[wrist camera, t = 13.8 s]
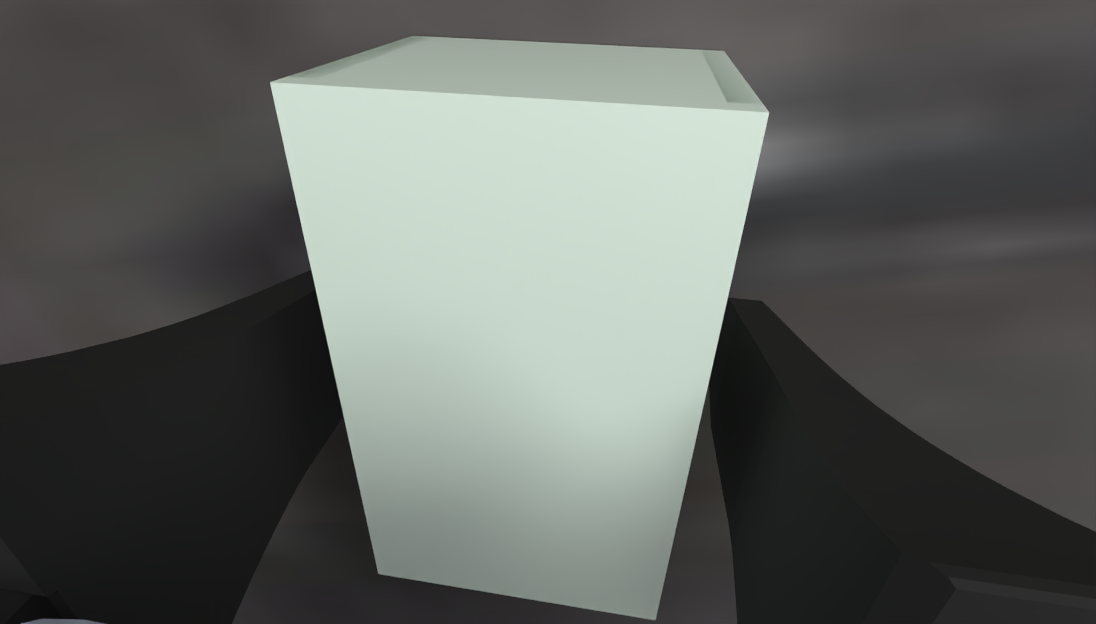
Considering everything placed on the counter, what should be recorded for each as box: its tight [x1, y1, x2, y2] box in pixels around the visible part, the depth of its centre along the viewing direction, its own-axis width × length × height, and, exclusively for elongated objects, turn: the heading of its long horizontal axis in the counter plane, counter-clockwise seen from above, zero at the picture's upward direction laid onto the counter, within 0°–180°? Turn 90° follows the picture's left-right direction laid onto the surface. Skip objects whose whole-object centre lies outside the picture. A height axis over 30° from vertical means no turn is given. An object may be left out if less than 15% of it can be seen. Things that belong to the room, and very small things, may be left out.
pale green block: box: [270, 36, 769, 620], centre depth 11 cm, size 6×10×5 cm, turn 179°
